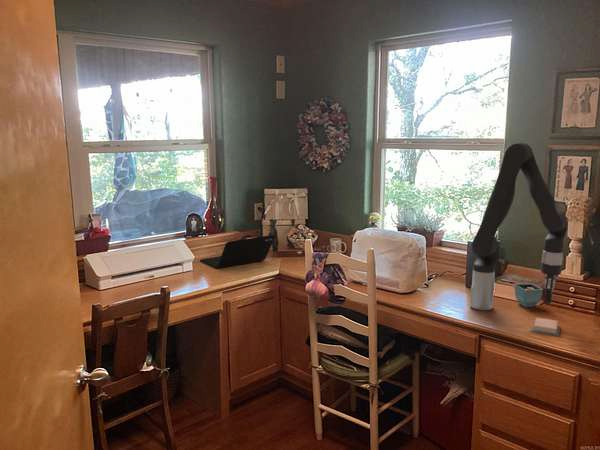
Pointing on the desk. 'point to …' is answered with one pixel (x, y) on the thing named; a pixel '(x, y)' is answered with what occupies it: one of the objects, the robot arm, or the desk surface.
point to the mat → (546, 332)
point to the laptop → (242, 252)
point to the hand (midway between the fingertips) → (547, 302)
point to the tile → (545, 325)
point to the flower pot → (527, 295)
